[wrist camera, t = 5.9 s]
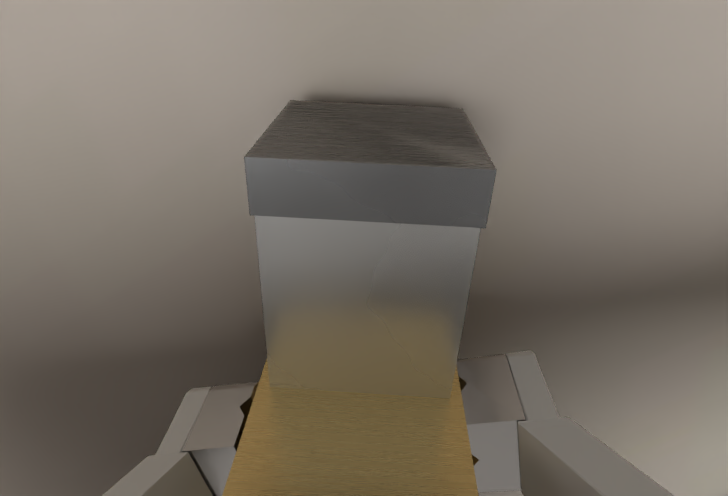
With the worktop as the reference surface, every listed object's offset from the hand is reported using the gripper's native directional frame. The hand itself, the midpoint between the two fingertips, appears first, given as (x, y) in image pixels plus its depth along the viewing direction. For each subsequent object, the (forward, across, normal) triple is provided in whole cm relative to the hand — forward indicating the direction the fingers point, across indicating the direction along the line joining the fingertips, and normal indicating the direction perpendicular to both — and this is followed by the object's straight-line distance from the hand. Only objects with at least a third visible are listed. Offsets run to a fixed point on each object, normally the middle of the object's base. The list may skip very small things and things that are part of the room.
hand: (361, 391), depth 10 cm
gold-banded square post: (+3, +1, +4) cm, 5 cm away
